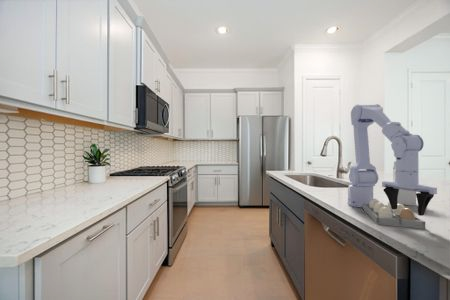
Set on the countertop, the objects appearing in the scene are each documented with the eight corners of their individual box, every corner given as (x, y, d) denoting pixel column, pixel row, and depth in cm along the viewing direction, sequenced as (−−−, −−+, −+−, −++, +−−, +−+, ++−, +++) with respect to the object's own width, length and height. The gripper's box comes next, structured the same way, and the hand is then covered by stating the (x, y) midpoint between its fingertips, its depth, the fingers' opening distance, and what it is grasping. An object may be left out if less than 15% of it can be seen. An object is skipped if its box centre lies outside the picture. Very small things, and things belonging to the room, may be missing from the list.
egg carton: (376, 223, 72) (376, 217, 72) (362, 208, 90) (362, 203, 90) (425, 228, 68) (425, 221, 68) (400, 211, 85) (400, 206, 85)
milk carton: (416, 206, 93) (416, 162, 93) (395, 204, 97) (395, 161, 97) (412, 202, 99) (412, 161, 99) (393, 200, 103) (393, 161, 103)
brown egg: (410, 225, 70) (410, 210, 69) (397, 221, 73) (397, 207, 73) (417, 223, 71) (417, 209, 71) (404, 220, 75) (403, 206, 74)
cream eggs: (380, 221, 73) (380, 207, 73) (368, 209, 88) (368, 197, 88) (417, 225, 70) (417, 210, 70) (397, 211, 85) (397, 199, 84)
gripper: (441, 172, 67) (442, 216, 67) (390, 168, 80) (390, 205, 80) (429, 174, 64) (430, 219, 64) (378, 169, 77) (378, 207, 77)
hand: (407, 211), depth 72 cm, fingers open, 7 cm apart
